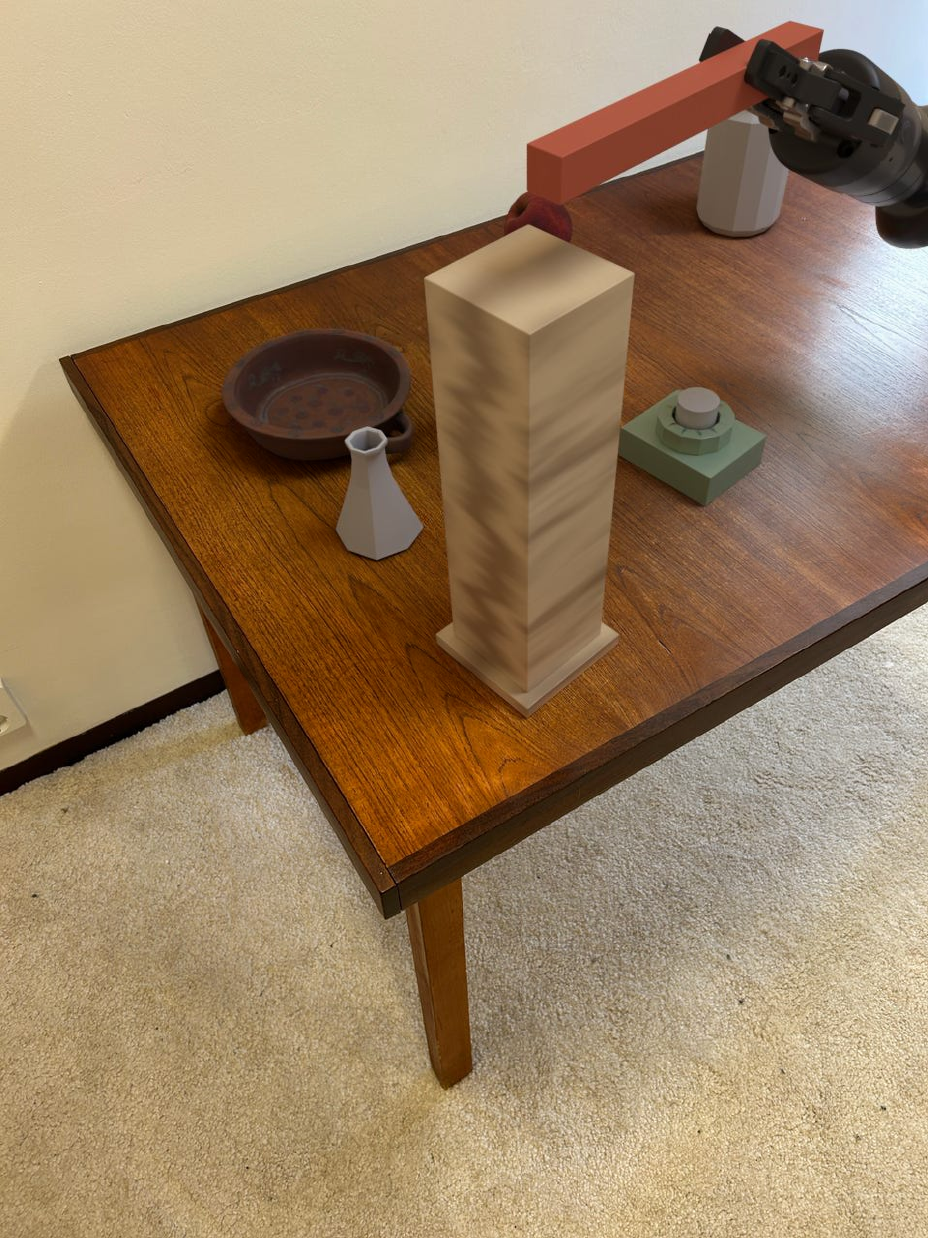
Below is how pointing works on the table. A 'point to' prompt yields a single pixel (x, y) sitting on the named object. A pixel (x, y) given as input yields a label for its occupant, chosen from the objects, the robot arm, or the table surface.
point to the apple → (539, 216)
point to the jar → (740, 178)
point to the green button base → (691, 450)
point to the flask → (374, 501)
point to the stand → (528, 455)
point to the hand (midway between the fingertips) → (733, 53)
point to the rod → (654, 118)
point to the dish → (320, 392)
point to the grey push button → (697, 408)
